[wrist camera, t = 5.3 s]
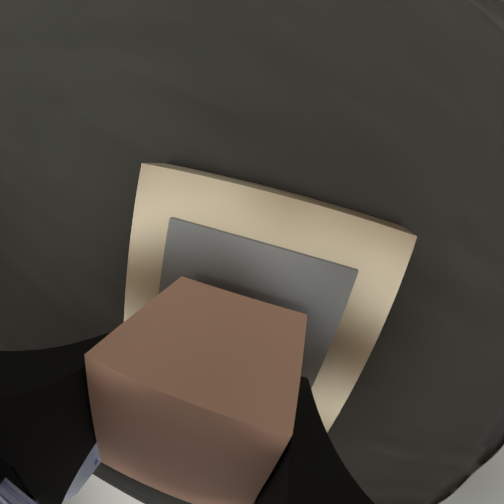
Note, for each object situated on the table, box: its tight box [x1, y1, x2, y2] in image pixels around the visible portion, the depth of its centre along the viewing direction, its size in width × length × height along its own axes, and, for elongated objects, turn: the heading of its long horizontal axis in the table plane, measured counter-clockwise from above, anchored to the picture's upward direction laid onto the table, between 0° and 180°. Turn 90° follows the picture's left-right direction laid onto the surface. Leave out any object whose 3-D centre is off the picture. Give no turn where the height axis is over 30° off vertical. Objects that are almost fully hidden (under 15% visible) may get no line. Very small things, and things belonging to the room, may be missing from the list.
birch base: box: [124, 163, 417, 432], centre depth 15 cm, size 12×12×3 cm
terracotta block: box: [84, 276, 307, 504], centre depth 10 cm, size 5×5×6 cm
